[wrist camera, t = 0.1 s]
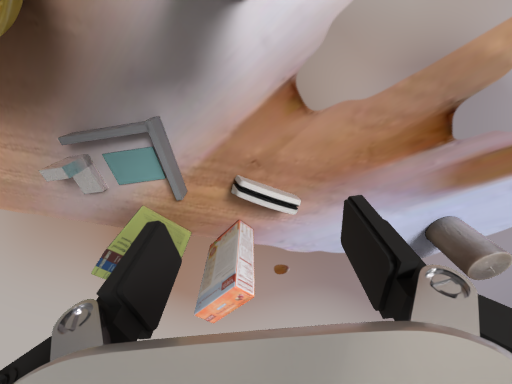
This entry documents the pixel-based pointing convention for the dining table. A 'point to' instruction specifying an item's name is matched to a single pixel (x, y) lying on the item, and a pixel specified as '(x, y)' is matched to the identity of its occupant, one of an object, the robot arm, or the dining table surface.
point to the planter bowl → (8, 13)
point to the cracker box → (227, 274)
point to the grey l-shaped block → (76, 173)
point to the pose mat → (135, 165)
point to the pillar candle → (468, 248)
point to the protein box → (129, 235)
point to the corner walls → (158, 139)
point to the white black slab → (265, 195)
